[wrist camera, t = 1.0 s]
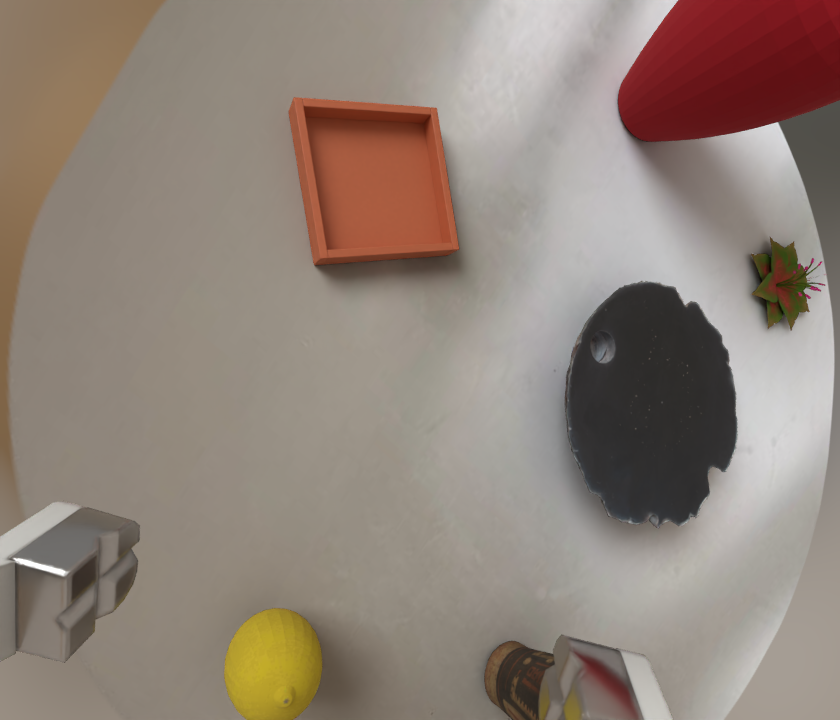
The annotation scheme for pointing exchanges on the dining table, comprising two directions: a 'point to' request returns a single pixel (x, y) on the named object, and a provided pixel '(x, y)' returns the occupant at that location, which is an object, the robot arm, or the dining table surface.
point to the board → (650, 405)
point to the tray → (372, 181)
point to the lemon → (273, 666)
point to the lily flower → (783, 283)
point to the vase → (732, 68)
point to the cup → (516, 679)
